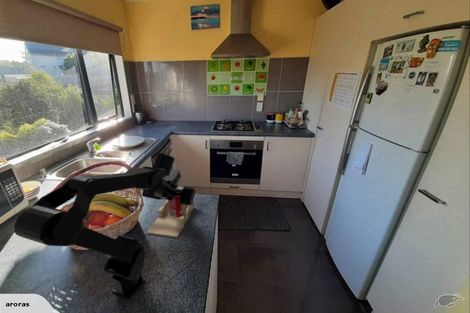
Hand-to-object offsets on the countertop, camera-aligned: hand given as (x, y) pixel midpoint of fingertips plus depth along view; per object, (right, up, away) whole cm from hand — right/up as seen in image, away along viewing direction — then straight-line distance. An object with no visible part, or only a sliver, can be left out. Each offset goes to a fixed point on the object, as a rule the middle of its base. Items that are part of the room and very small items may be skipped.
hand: (179, 198), depth 82 cm
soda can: (-1, -7, +1) cm, 7 cm away
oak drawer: (-4, -10, +4) cm, 12 cm away
